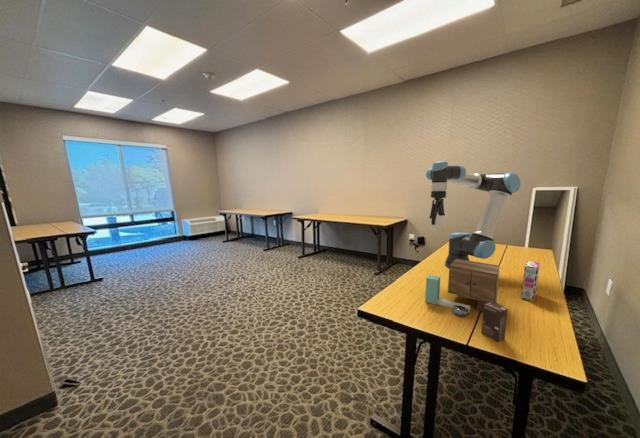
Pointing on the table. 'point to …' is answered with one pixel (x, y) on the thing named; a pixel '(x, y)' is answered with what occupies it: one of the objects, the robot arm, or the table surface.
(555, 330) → the table surface
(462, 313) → the disc
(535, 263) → the candy bar box
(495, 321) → the box
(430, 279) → the tool
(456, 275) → the wooden cabinet
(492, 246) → the robot arm
